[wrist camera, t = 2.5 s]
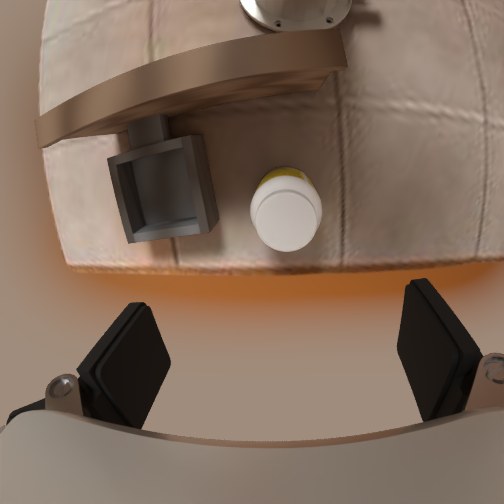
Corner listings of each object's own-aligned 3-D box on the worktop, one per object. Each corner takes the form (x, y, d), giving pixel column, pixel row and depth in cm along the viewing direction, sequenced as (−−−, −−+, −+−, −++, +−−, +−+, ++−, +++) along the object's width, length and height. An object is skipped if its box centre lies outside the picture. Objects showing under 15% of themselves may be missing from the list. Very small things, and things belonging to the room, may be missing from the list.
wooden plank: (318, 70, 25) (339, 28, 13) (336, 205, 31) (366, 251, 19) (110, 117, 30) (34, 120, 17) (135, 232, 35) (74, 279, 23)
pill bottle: (247, 200, 32) (228, 232, 22) (278, 154, 30) (274, 164, 20) (292, 230, 33) (294, 275, 23) (325, 187, 30) (343, 214, 20)
